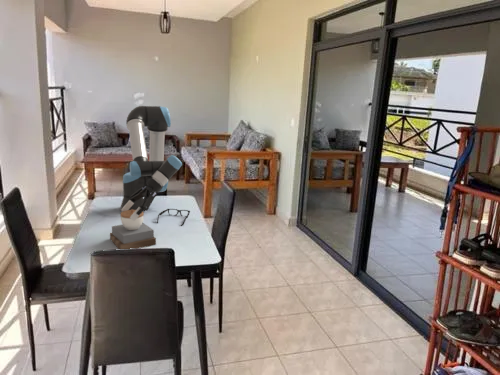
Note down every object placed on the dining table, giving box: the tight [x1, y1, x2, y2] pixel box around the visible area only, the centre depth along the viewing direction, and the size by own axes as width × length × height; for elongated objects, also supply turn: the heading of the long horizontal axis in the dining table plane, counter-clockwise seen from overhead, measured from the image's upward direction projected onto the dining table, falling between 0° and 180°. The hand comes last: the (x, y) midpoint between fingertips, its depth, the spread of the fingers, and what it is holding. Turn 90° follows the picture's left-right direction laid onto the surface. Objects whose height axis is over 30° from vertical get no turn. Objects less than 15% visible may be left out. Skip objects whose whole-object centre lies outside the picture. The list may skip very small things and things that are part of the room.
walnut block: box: [109, 232, 157, 250], centre depth 192 cm, size 17×17×4 cm
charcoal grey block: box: [111, 222, 155, 244], centre depth 191 cm, size 15×15×4 cm
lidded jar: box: [120, 209, 144, 230], centre depth 190 cm, size 11×11×9 cm
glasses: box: [156, 208, 191, 227], centre depth 227 cm, size 17×18×5 cm
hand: (127, 215), depth 188 cm, fingers open, 12 cm apart
